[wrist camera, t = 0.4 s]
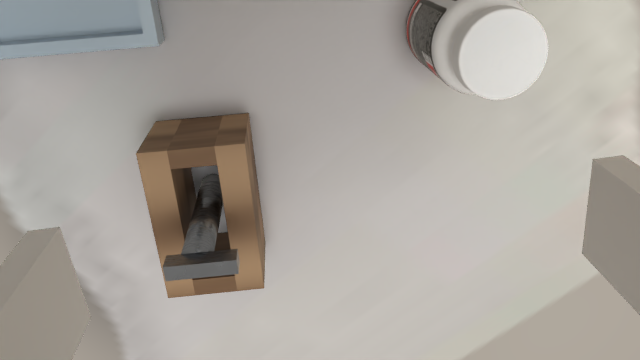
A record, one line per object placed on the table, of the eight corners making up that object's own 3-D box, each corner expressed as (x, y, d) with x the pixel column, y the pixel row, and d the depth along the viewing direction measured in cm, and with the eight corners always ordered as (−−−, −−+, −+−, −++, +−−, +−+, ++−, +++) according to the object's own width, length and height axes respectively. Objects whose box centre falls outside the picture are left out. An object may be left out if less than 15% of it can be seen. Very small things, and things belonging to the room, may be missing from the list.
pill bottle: (442, 85, 39) (493, 132, 30) (386, 27, 37) (423, 59, 28) (505, 23, 37) (580, 53, 28) (452, -40, 35) (513, -29, 26)
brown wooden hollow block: (155, 121, 38) (136, 153, 33) (248, 113, 38) (244, 143, 33) (185, 270, 43) (173, 319, 38) (267, 262, 44) (266, 309, 38)
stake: (189, 176, 40) (161, 260, 30) (244, 171, 40) (235, 253, 30) (193, 198, 41) (166, 288, 31) (247, 193, 41) (239, 280, 31)
